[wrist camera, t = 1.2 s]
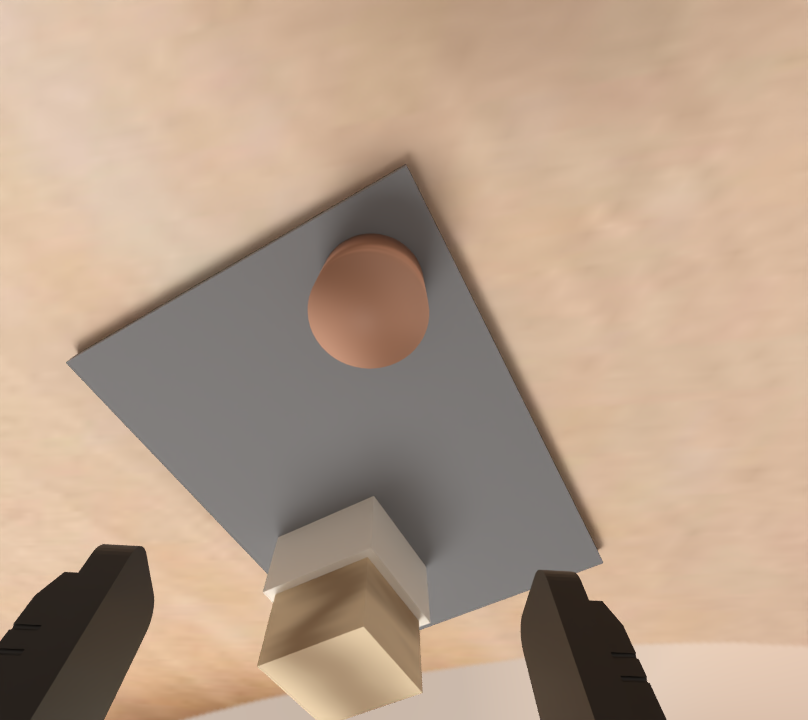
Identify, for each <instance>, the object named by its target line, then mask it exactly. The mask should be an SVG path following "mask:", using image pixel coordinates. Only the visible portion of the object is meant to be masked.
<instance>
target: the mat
mask: <svg viewBox="0 0 808 720" xmlns="http://www.w3.org/2000/svg"><path fill="white" fill-rule="evenodd" d="M372 233H373V234H381V235H386V236H389V237H391V238H394V239H396V240H398V241H400V242H401V243H402V244H404V245H405V246H406V247H407V248H408V249H409V250H410V251H411V252H412V253H413V254H414V255H415V257H416V259H417V260H418V262H419V264H420V266H421V269H422V273H423V277H424V283H425V288H426V293H427V298H428V304H429V322H428V326H427V330H426V332H425V335H424V337H423V339H422V340H421V342H420V344H419V345H418V346H417V347H416V349H415V350H414V351H413V352H412V353H411V354H410V355H408V356H407V357H406V358H404V359H403V360H401V361H399V362H397V363H395V364H392V365H390V366H386V367H381V368H372V369H367V368H359V367H354V366H350V365H347V364H345V363H343V362H340V361H339V360H337V359H335V358H334V357H332V356H331V355H330V354H328V353H327V352H326V351H325V350H324V349H323V348H322V347H321V345H320V344H319V343H318V341H317V340H316V338H315V336H314V335H313V332H312V330H311V328H310V324H309V320H308V300H309V296H310V293H311V290H312V288H313V286H314V283H315V281H316V280H317V278H318V276H319V274H320V272H321V270H322V268H323V266H324V264H325V262H326V260H327V258H328V257H329V255H330V253H331V252H332V251H333V250H334V249H335V248H336V247H337V246H338V245H339V244H341V243H342V242H344V241H345V240H347V239H349V238H351V237H354V236H357V235H361V234H372ZM66 363H67V364H68V366H69V367H70V368H71V369H72V370H73V371H74V372H75V373H76V374H77V375H78V376H79V377H80V378H81V379H82V380H83V381H84V382H85V383H86V384H87V385H88V386H89V388H90V389H91V390H92V391H93V392H94V393H95V394H96V395H97V396H98V397H99V398H100V399H101V400H102V401H103V402H104V403H105V404H106V405H107V406H108V407H109V408H110V410H111V411H112V412H113V413H114V414H115V415H116V416H117V417H118V418H119V419H120V420H121V421H122V422H123V423H124V424H125V425H126V426H127V427H128V428H129V429H130V430H131V432H132V433H133V434H134V435H135V436H136V437H137V438H138V439H139V440H140V441H141V442H142V443H143V444H144V445H145V446H146V447H147V448H148V449H149V450H150V451H151V452H152V454H153V455H154V456H155V457H156V458H157V459H158V460H159V461H160V462H161V463H162V464H163V465H164V466H165V467H166V468H167V469H168V470H169V471H170V472H171V473H172V474H173V476H174V477H175V478H176V479H177V480H178V481H179V482H180V483H181V484H182V485H183V486H184V487H185V488H186V489H187V490H188V491H189V492H190V493H191V494H192V495H193V496H194V498H195V499H196V500H197V501H198V502H199V503H200V504H201V505H202V506H203V507H204V508H205V509H206V510H207V511H208V512H209V513H210V514H211V515H212V516H213V517H214V518H215V520H216V521H217V522H218V523H219V524H220V525H221V526H222V527H223V528H224V529H225V530H226V531H227V532H228V533H229V534H230V535H231V536H232V537H233V538H234V539H235V540H236V542H237V543H238V544H239V545H240V546H241V547H242V548H243V549H244V550H245V551H246V552H247V553H248V554H249V555H250V556H251V557H252V558H253V559H254V560H255V561H256V562H257V563H258V565H259V566H260V567H261V568H262V569H263V570H264V571H265V572H266V573H267V574H268V572H269V568H270V564H271V561H272V557H273V554H274V550H275V547H276V543H277V539H278V537H280V536H282V535H285V534H287V533H289V532H292V531H294V530H296V529H298V528H301V527H303V526H305V525H308V524H310V523H312V522H315V521H317V520H319V519H322V518H324V517H326V516H328V515H331V514H333V513H335V512H338V511H340V510H342V509H345V508H347V507H349V506H351V505H354V504H356V503H358V502H361V501H363V500H365V499H368V498H370V497H372V496H374V497H375V498H376V499H377V501H378V502H379V503H380V505H381V506H382V507H383V509H384V510H385V512H386V513H387V514H388V516H389V517H390V518H391V520H392V521H393V522H394V524H395V525H396V527H397V528H398V529H399V531H400V532H401V533H402V535H403V536H404V537H405V539H406V540H407V542H408V543H409V544H410V546H411V547H412V548H413V550H414V551H415V552H416V554H417V555H418V556H419V558H420V559H421V561H422V562H423V563H424V565H425V566H426V571H427V585H428V598H429V612H430V623H429V624H426V625H423V626H421V627H419V630H421V629H424V628H427V627H429V626H432V625H435V624H438V623H440V622H443V621H446V620H449V619H451V618H454V617H457V616H460V615H462V614H465V613H468V612H471V611H473V610H476V609H479V608H482V607H484V606H487V605H490V604H492V603H495V602H498V601H501V600H503V599H506V598H509V597H512V596H514V595H517V594H520V593H523V592H525V591H528V590H530V589H531V586H532V582H533V579H534V576H535V573H536V572H537V571H538V570H555V571H572V572H575V573H578V572H580V571H583V570H586V569H588V568H591V567H594V566H597V565H599V564H602V563H603V561H602V559H601V557H600V555H599V553H598V550H597V548H596V546H595V544H594V542H593V540H592V538H591V536H590V534H589V532H588V530H587V528H586V526H585V524H584V522H583V520H582V518H581V516H580V514H579V512H578V510H577V508H576V506H575V504H574V502H573V500H572V498H571V496H570V494H569V492H568V490H567V488H566V486H565V484H564V482H563V480H562V478H561V476H560V474H559V472H558V470H557V468H556V466H555V464H554V462H553V460H552V458H551V456H550V454H549V452H548V450H547V448H546V446H545V444H544V442H543V440H542V438H541V435H540V433H539V431H538V429H537V427H536V425H535V423H534V421H533V419H532V417H531V415H530V413H529V411H528V409H527V407H526V405H525V403H524V401H523V399H522V397H521V395H520V393H519V391H518V389H517V387H516V385H515V383H514V381H513V379H512V377H511V375H510V373H509V371H508V369H507V367H506V365H505V363H504V361H503V359H502V357H501V355H500V353H499V351H498V349H497V347H496V345H495V343H494V341H493V339H492V337H491V335H490V333H489V331H488V329H487V327H486V325H485V322H484V320H483V318H482V316H481V314H480V312H479V310H478V308H477V306H476V304H475V302H474V300H473V298H472V296H471V294H470V292H469V290H468V288H467V286H466V284H465V282H464V280H463V278H462V276H461V274H460V272H459V270H458V268H457V266H456V264H455V262H454V260H453V258H452V256H451V254H450V252H449V250H448V248H447V246H446V244H445V242H444V240H443V238H442V236H441V234H440V232H439V230H438V228H437V226H436V224H435V222H434V220H433V218H432V216H431V214H430V212H429V210H428V207H427V205H426V203H425V201H424V199H423V197H422V195H421V193H420V191H419V189H418V187H417V185H416V183H415V181H414V179H413V177H412V175H411V173H410V171H409V169H408V167H407V165H406V164H405V165H404V166H402V167H400V168H398V169H397V170H395V171H393V172H392V173H390V174H388V175H386V176H385V177H383V178H381V179H379V180H378V181H376V182H374V183H372V184H371V185H369V186H367V187H366V188H364V189H362V190H360V191H359V192H357V193H355V194H353V195H352V196H350V197H348V198H347V199H345V200H343V201H341V202H340V203H338V204H336V205H334V206H333V207H331V208H329V209H327V210H326V211H324V212H322V213H321V214H319V215H317V216H315V217H314V218H312V219H310V220H308V221H307V222H305V223H303V224H302V225H300V226H298V227H296V228H295V229H293V230H291V231H289V232H288V233H286V234H284V235H282V236H281V237H279V238H277V239H276V240H274V241H272V242H270V243H269V244H267V245H265V246H263V247H262V248H260V249H258V250H257V251H255V252H253V253H251V254H250V255H248V256H246V257H244V258H243V259H241V260H239V261H238V262H236V263H234V264H232V265H231V266H229V267H227V268H225V269H224V270H222V271H220V272H218V273H217V274H215V275H213V276H212V277H210V278H208V279H206V280H205V281H203V282H201V283H199V284H198V285H196V286H194V287H193V288H191V289H189V290H187V291H186V292H184V293H182V294H180V295H179V296H177V297H175V298H173V299H172V300H170V301H168V302H167V303H165V304H163V305H161V306H160V307H158V308H156V309H154V310H153V311H151V312H149V313H148V314H146V315H144V316H142V317H141V318H139V319H137V320H135V321H134V322H132V323H130V324H128V325H127V326H125V327H123V328H122V329H120V330H118V331H116V332H115V333H113V334H111V335H109V336H108V337H106V338H104V339H103V340H101V341H99V342H97V343H96V344H94V345H92V346H90V347H89V348H87V349H85V350H84V351H82V352H80V353H78V354H77V355H75V356H74V357H73V358H71V359H70V360H68V361H67V362H66Z"/></svg>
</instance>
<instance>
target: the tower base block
mask: <svg viewBox="0 0 808 720" xmlns="http://www.w3.org/2000/svg"><path fill="white" fill-rule="evenodd" d="M366 557H368V558H369V559H370V561H371V562H372V563H373V564H374V565H375V567H376V568H377V569H378V570H379V572H380V573H381V574H382V575H383V577H384V578H385V579H386V580H387V582H388V583H389V584H390V585H391V587H392V588H393V589H394V590H395V592H396V593H397V594H398V595H399V597H400V598H401V599H402V600H403V602H404V603H405V604H406V605H407V607H408V608H409V609H410V610H411V612H412V613H413V614H414V615H415V617H416V618H417V619H418V620H419V627H421V626H423V625H426V624H429V623H430V612H429V598H428V585H427V571H426V566H425V565H424V563H423V562H422V561H421V559H420V558H419V556H418V555H417V554H416V552H415V551H414V550H413V548H412V547H411V546H410V544H409V543H408V542H407V540H406V539H405V537H404V536H403V535H402V533H401V532H400V531H399V529H398V528H397V527H396V525H395V524H394V522H393V521H392V520H391V518H390V517H389V516H388V514H387V513H386V512H385V510H384V509H383V507H382V506H381V505H380V503H379V502H378V501H377V499H376V498H375V497H374V496H372V497H370V498H368V499H365V500H363V501H361V502H358V503H356V504H354V505H351V506H349V507H347V508H345V509H342V510H340V511H338V512H335V513H333V514H331V515H328V516H326V517H324V518H322V519H319V520H317V521H315V522H312V523H310V524H308V525H305V526H303V527H301V528H298V529H296V530H294V531H292V532H289V533H287V534H285V535H282V536H280V537H278V539H277V543H276V547H275V550H274V554H273V557H272V561H271V564H270V568H269V572H268V575H267V579H266V582H265V586H264V589H263V593H264V594H265V595H266V596H267V597H268V598H269V599H270V600H271V601H272V602H273V601H274V598H275V595H276V594H278V593H280V592H283V591H285V590H288V589H290V588H293V587H295V586H298V585H300V584H303V583H305V582H307V581H310V580H312V579H315V578H317V577H320V576H322V575H325V574H327V573H330V572H332V571H335V570H337V569H339V568H342V567H344V566H347V565H349V564H352V563H354V562H357V561H359V560H362V559H364V558H366Z"/></svg>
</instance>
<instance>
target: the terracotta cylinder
mask: <svg viewBox="0 0 808 720" xmlns="http://www.w3.org/2000/svg"><path fill="white" fill-rule="evenodd" d="M308 320H309V324H310V328H311V330H312V332H313V335H314V336H315V338H316V340H317V341H318V343H319V344H320V345H321V347H322V348H323V349H324V350H325V351H326V352H327V353H328V354H330V355H331V356H332V357H334V358H335V359H337V360H339V361H340V362H343V363H345V364H347V365H350V366H354V367H359V368H367V369H372V368H381V367H386V366H390V365H392V364H395V363H397V362H399V361H401V360H403V359H404V358H406V357H407V356H408V355H410V354H411V353H412V352H413V351H414V350H415V349H416V347H417V346H418V345H419V344H420V342H421V340H422V339H423V337H424V335H425V332H426V330H427V326H428V322H429V304H428V298H427V293H426V288H425V283H424V277H423V273H422V269H421V266H420V264H419V262H418V260H417V259H416V257H415V255H414V254H413V253H412V252H411V251H410V250H409V249H408V248H407V247H406V246H405V245H404V244H402V243H401V242H400V241H398V240H396V239H394V238H391V237H389V236H386V235H381V234H373V233H372V234H361V235H357V236H354V237H351V238H349V239H347V240H345V241H344V242H342V243H341V244H339V245H338V246H337V247H336V248H335V249H334V250H333V251H332V252H331V253H330V255H329V257H328V258H327V260H326V262H325V264H324V266H323V268H322V270H321V272H320V274H319V276H318V278H317V280H316V281H315V283H314V286H313V288H312V290H311V293H310V296H309V300H308Z"/></svg>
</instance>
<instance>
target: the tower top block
mask: <svg viewBox="0 0 808 720" xmlns="http://www.w3.org/2000/svg"><path fill="white" fill-rule="evenodd" d="M257 667H258V668H259V669H260V670H261V671H263V672H264V673H265V674H266V675H267V676H268V677H269V678H270V679H271V680H272V681H274V682H275V683H276V684H277V685H278V686H279V687H280V688H281V689H282V690H284V691H285V692H286V693H287V694H288V695H289V696H290V697H291V698H293V699H294V700H295V701H296V702H297V703H298V704H299V705H300V706H301V707H302V708H304V709H305V710H306V711H307V712H308V713H309V714H310V715H311V716H312V717H313V718H315V719H316V720H344V719H347V718H350V717H353V716H356V715H359V714H362V713H365V712H368V711H370V710H374V709H377V708H379V707H382V706H386V705H388V704H391V703H395V702H397V701H401V700H403V699H406V698H409V697H412V696H415V695H418V694H421V693H422V672H421V652H420V633H419V620H418V619H417V618H416V617H415V615H414V614H413V613H412V612H411V610H410V609H409V608H408V607H407V605H406V604H405V603H404V602H403V600H402V599H401V598H400V597H399V595H398V594H397V593H396V592H395V590H394V589H393V588H392V587H391V585H390V584H389V583H388V582H387V580H386V579H385V578H384V577H383V575H382V574H381V573H380V572H379V570H378V569H377V568H376V567H375V565H374V564H373V563H372V562H371V561H370V559H369V558H368V557H366V558H364V559H362V560H359V561H357V562H354V563H352V564H349V565H347V566H344V567H342V568H339V569H337V570H335V571H332V572H330V573H327V574H325V575H322V576H320V577H317V578H315V579H312V580H310V581H307V582H305V583H303V584H300V585H298V586H295V587H293V588H290V589H288V590H285V591H283V592H280V593H278V594H276V595H275V598H274V601H273V605H272V609H271V613H270V617H269V621H268V625H267V629H266V633H265V637H264V641H263V645H262V649H261V653H260V657H259V661H258V665H257Z"/></svg>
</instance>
